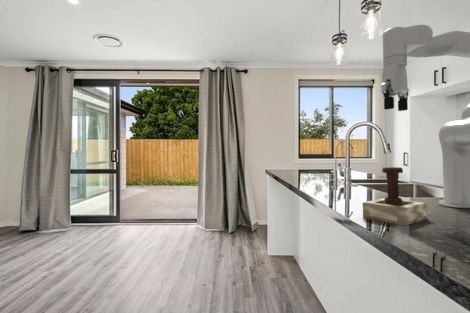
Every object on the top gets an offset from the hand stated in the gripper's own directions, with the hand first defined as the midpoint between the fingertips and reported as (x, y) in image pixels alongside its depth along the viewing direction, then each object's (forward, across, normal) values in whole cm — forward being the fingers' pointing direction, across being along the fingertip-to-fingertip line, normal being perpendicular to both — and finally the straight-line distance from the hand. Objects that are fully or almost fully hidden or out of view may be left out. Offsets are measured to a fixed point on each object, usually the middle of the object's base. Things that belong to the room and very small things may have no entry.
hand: (396, 109), depth 105 cm
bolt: (+36, +17, +7) cm, 40 cm away
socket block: (+36, +17, +7) cm, 41 cm away
